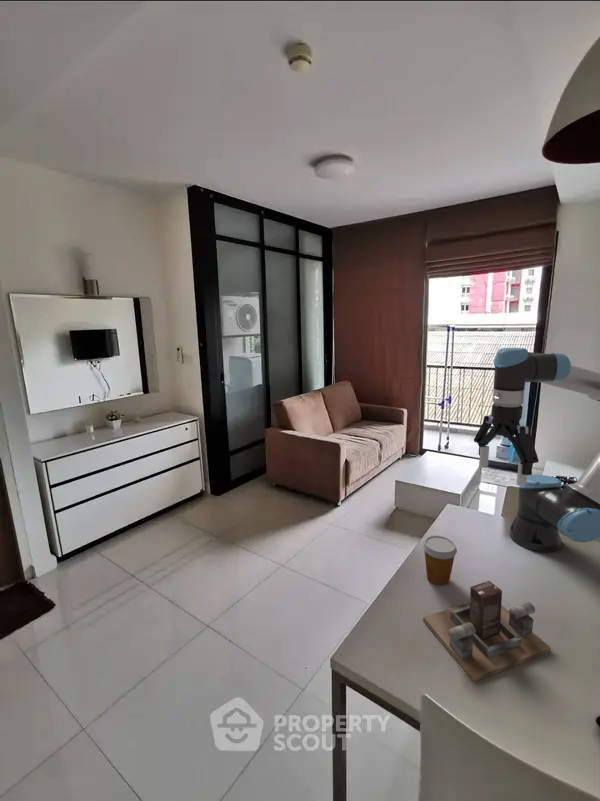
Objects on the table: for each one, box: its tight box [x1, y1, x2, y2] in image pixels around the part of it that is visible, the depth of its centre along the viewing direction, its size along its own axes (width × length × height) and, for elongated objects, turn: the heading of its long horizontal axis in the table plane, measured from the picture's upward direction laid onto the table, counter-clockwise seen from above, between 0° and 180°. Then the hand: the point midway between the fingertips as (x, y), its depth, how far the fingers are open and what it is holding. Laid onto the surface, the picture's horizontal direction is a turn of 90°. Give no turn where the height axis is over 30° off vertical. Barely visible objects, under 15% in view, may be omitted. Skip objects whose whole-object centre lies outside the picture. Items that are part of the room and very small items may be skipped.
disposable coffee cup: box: [422, 535, 458, 587], centre depth 112 cm, size 10×10×12 cm
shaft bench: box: [422, 601, 552, 683], centre depth 93 cm, size 24×18×8 cm
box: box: [469, 580, 503, 640], centre depth 92 cm, size 6×4×12 cm
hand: (501, 475), depth 110 cm, fingers open, 13 cm apart
